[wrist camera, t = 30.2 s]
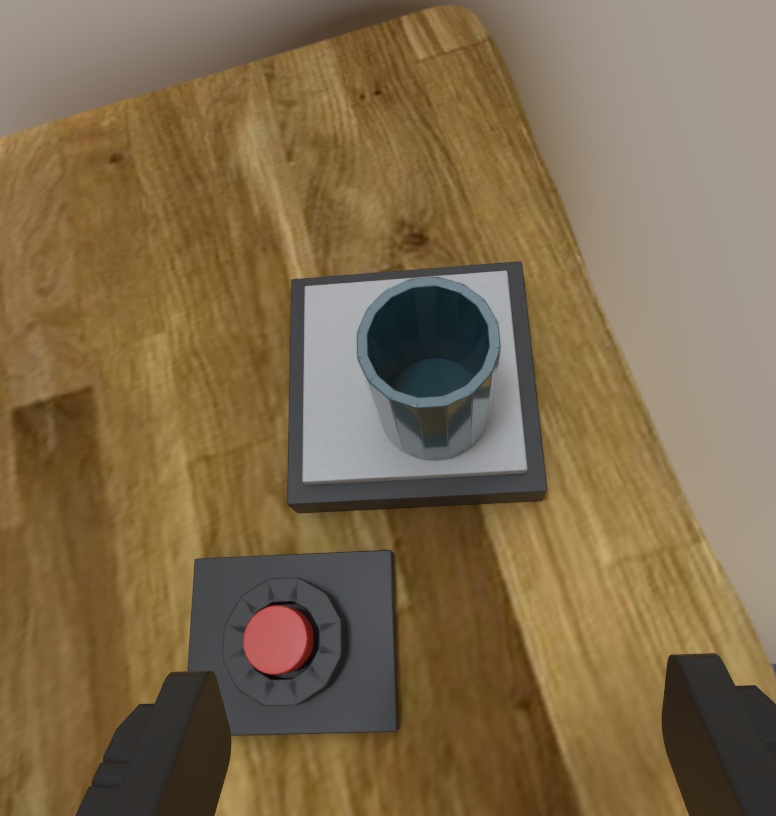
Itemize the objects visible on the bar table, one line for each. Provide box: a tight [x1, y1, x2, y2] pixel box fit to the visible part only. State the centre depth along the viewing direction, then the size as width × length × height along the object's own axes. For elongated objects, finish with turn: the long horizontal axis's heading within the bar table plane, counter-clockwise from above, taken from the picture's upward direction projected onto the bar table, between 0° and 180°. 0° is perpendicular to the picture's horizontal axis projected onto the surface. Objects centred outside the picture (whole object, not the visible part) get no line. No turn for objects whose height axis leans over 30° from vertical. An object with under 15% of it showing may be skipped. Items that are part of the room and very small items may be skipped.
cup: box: [356, 277, 501, 461], centre depth 34 cm, size 6×6×8 cm
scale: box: [287, 261, 547, 513], centre depth 40 cm, size 14×14×3 cm
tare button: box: [243, 605, 314, 675], centre depth 34 cm, size 3×3×2 cm
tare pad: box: [188, 550, 399, 736], centre depth 36 cm, size 11×9×3 cm
